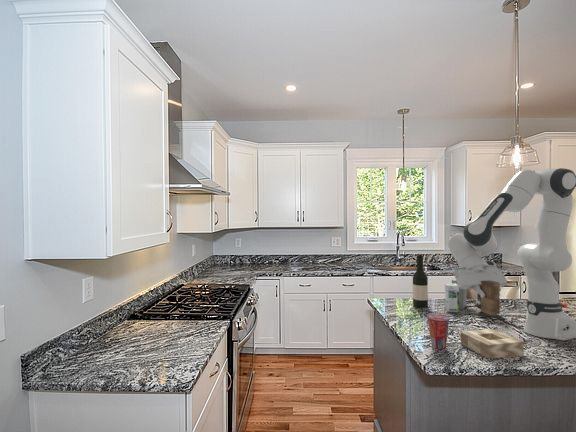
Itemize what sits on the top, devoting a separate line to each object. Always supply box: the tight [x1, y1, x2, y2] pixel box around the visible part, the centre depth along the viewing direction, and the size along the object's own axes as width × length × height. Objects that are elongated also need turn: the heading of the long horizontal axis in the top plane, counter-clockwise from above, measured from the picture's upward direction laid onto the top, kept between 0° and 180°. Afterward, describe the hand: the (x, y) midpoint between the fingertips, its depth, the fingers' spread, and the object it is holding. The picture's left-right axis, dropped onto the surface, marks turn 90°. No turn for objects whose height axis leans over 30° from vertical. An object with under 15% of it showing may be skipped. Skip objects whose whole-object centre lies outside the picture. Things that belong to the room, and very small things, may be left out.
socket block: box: [460, 328, 525, 360], centre depth 137 cm, size 15×15×5 cm
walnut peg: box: [480, 280, 501, 315], centre depth 137 cm, size 4×4×12 cm
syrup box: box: [444, 283, 460, 313], centre depth 193 cm, size 6×6×14 cm
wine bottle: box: [412, 253, 429, 309], centre depth 204 cm, size 8×8×30 cm
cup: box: [426, 313, 451, 350], centre depth 141 cm, size 9×8×12 cm
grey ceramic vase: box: [474, 287, 502, 319], centre depth 184 cm, size 12×12×18 cm
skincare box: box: [451, 278, 468, 310], centre depth 201 cm, size 8×7×16 cm
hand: (491, 296), depth 137 cm, fingers closed on walnut peg, 4 cm apart
